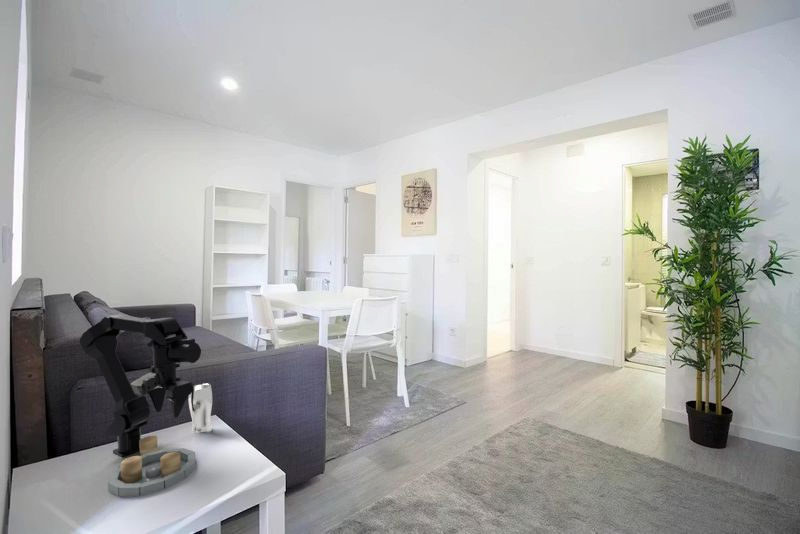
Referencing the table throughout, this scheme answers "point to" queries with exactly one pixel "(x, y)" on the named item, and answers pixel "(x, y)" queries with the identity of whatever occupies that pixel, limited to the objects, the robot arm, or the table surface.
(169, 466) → the tan short rounded cylinder
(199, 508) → the table surface
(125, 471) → the bead
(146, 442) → the bead
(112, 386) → the robot arm
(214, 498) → the table surface
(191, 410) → the beer glass
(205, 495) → the table surface
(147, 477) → the tray
